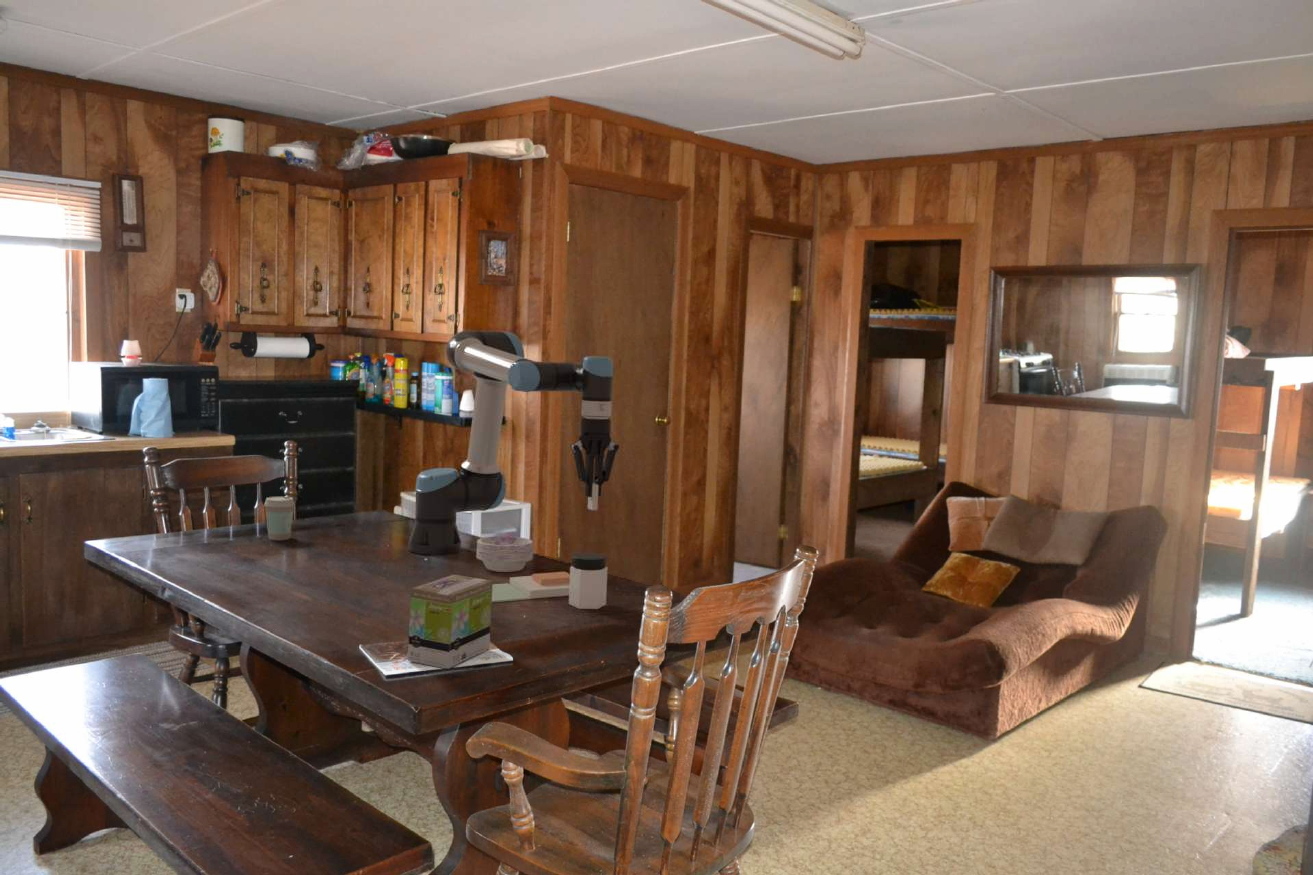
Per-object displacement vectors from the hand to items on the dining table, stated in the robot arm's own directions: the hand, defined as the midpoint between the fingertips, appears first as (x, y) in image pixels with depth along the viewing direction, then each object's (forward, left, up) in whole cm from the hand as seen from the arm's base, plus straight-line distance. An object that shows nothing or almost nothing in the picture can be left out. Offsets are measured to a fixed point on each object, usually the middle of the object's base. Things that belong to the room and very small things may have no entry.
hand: (592, 509), depth 264 cm
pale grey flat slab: (0, -11, -20) cm, 23 cm away
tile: (0, -10, -18) cm, 21 cm away
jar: (+16, -8, -20) cm, 27 cm away
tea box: (+42, -50, -21) cm, 69 cm away
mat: (0, -27, -20) cm, 34 cm away
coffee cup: (-80, -64, -20) cm, 104 cm away
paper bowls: (-25, -14, -20) cm, 35 cm away
